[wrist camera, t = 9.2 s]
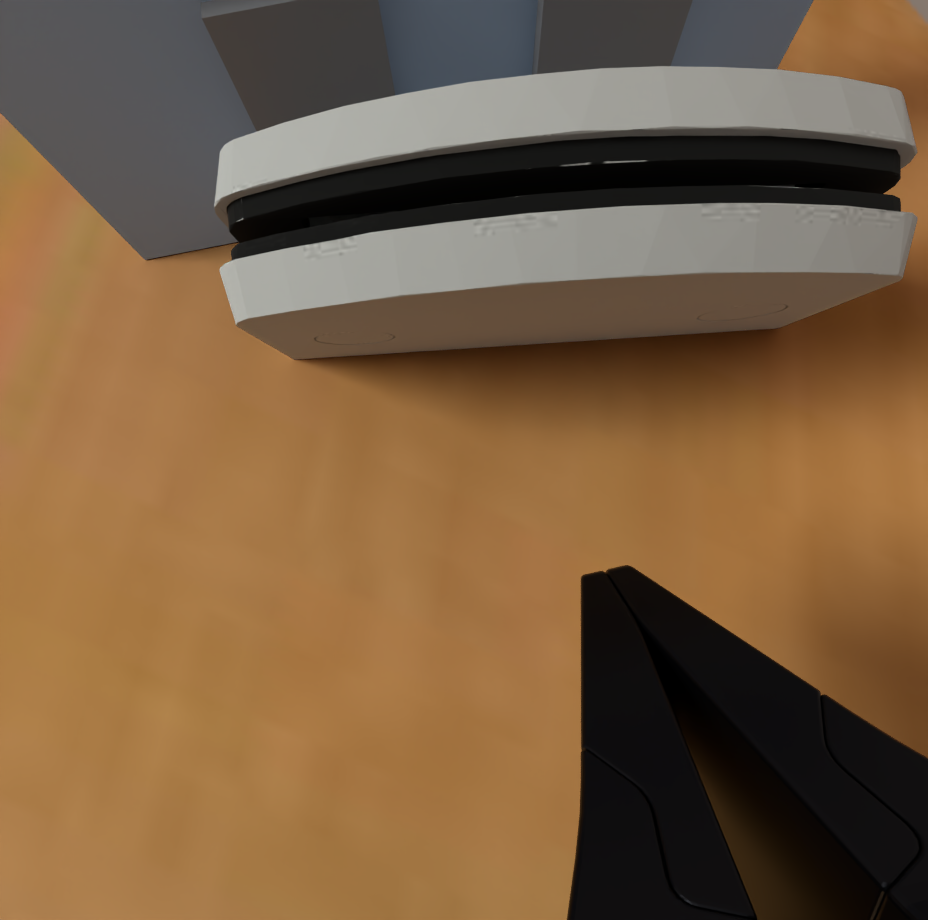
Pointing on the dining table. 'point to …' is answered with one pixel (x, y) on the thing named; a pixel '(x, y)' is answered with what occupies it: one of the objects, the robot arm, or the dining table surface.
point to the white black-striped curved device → (566, 210)
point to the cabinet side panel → (303, 76)
